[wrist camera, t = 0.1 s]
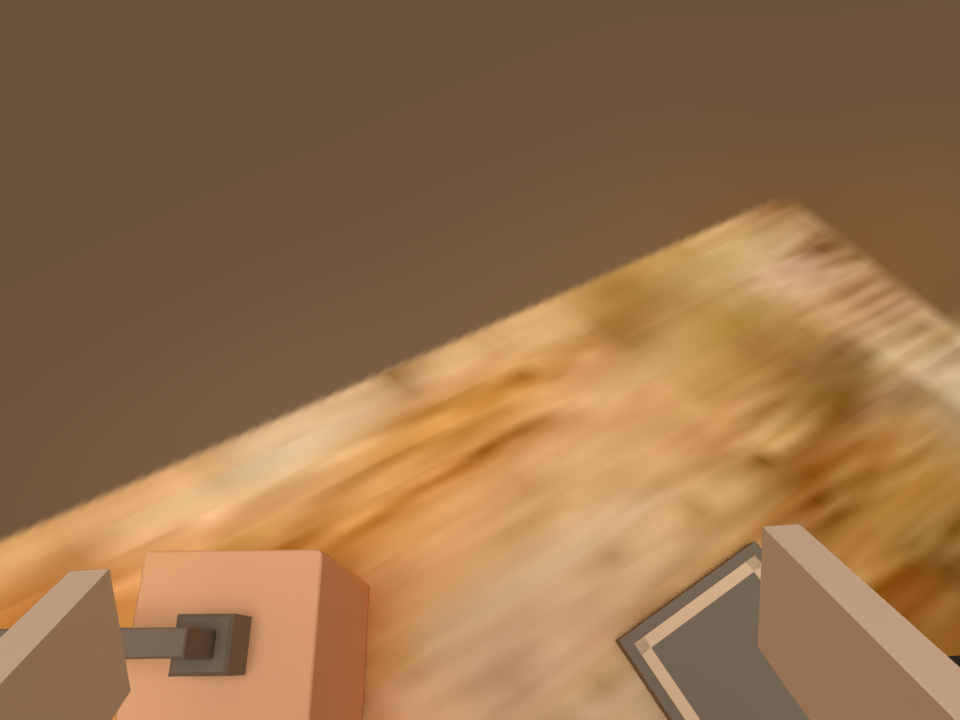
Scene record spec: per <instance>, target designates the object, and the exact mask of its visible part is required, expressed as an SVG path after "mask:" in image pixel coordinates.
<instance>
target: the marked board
mask: <svg viewBox="0 0 960 720" xmlns="http://www.w3.org/2000/svg"><path fill="white" fill-rule="evenodd" d="M761 556H762V549H761V548H760V547H759V545H758V544H757V543H756V541H755V542H752V543H750V544H748V545H747V546H745V547H744V548H743V549H741V550H740V551H739V552H737V553H736V554H734V555H733V556H732V557H730V558H729V559H728V560H726V561H725V562H723V563H722V564H721V565H719V566H718V567H717V568H715V569H714V570H712V571H711V572H710V573H708V574H707V575H706V576H704V577H703V578H701V579H700V580H699V581H697V582H696V583H694V584H693V585H692V586H690V587H689V588H688V589H686V590H685V591H683V592H682V593H681V594H679V595H678V596H677V597H675V598H674V599H672V600H671V601H670V602H668V603H667V604H666V605H664V606H663V607H661V608H660V609H659V610H657V611H656V612H655V613H653V614H652V615H650V616H649V617H648V618H646V619H645V620H643V621H642V622H641V623H639V624H638V625H637V626H635V627H634V628H632V629H631V630H630V631H628V632H627V633H626V634H624V635H623V636H621V637H620V638H619V639H617V640H616V642H617V643H618V645H619V646H620V648H621V649H622V651H623V652H624V654H625V656H626V657H627V659H628V660H629V662H630V663H631V665H632V666H633V668H634V669H635V671H636V672H637V674H638V675H639V677H640V678H641V680H642V681H643V683H644V684H645V686H646V687H647V689H648V690H649V692H650V693H651V695H652V696H653V698H654V699H655V701H656V702H657V704H658V705H659V707H660V708H661V710H662V711H663V713H664V714H665V716H666V717H667V719H668V720H809V719H808V717H807V716H806V714H805V713H804V712H803V710H802V709H801V707H800V706H799V705H798V703H797V702H796V700H795V699H794V697H793V696H792V695H791V693H790V692H789V690H788V689H787V688H786V686H785V685H784V683H783V682H782V681H781V679H780V678H779V676H778V675H777V674H776V672H775V671H774V669H773V668H772V666H771V665H770V664H769V662H768V661H767V659H766V658H765V657H764V655H763V654H762V652H761V651H760V650H759V648H758V624H759V602H760V579H761Z"/></svg>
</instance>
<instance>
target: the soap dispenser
mask: <svg viewBox="0 0 960 720" xmlns="http://www.w3.org/2000/svg"><path fill="white" fill-rule="evenodd" d="M368 599H369V586H368V585H367V584H366V583H365V582H364V581H362V580H361V579H359V578H358V577H357V576H355V575H354V574H352V573H351V572H350V571H348V570H347V569H345V568H344V567H343V566H341V565H340V564H338V563H337V562H336V561H334V560H333V559H331V558H330V557H329V556H327V555H326V554H324V553H323V552H322V551H320V550H213V551H149V552H148V553H146V555H145V560H144V565H143V571H142V577H141V582H140V588H139V593H138V599H137V604H136V610H135V616H134V621H133V627H132V628H120V632H121V638H122V644H123V649H124V655H125V659H127V660H126V666H127V672H128V678H129V683H130V689H131V691H130V693H129V694H128V696H127V697H126V699H125V700H124V702H123V703H122V705H121V706H120V708H119V709H118V711H117V716H116V720H361V719H362V714H363V695H364V676H365V656H366V637H367V618H368ZM8 630H9V629H0V637H1V636H3V635H4V634H5V633H6V632H7V631H8Z"/></svg>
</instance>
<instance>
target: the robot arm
mask: <svg viewBox="0 0 960 720" xmlns="http://www.w3.org/2000/svg"><path fill="white" fill-rule="evenodd" d="M758 648H759V650H760V651H761V652H762V654H763V655H764V657H765V658H766V659H767V661H768V662H769V664H770V665H771V666H772V668H773V669H774V671H775V672H776V674H777V675H778V676H779V678H780V679H781V681H782V682H783V683H784V685H785V686H786V688H787V689H788V690H789V692H790V693H791V695H792V696H793V697H794V699H795V700H796V702H797V703H798V705H799V706H800V707H801V709H802V710H803V712H804V713H805V714H806V716H807V717H808V719H809V720H960V656H946V655H945V654H944V653H943V652H942V651H941V650H940V649H939V648H937V647H936V646H935V645H934V644H933V643H932V642H931V641H930V640H929V639H927V638H926V637H925V636H924V635H923V634H922V633H921V632H920V631H918V630H917V629H916V628H915V627H914V626H913V625H912V624H911V623H909V622H908V621H907V620H906V619H905V618H904V617H903V616H902V615H901V614H899V613H898V612H897V611H896V610H895V609H894V608H893V607H892V606H890V605H889V604H888V603H887V602H886V601H885V600H884V599H883V598H881V597H880V596H879V595H878V594H877V593H876V592H875V591H874V590H873V589H871V588H870V587H869V586H868V585H867V584H866V583H865V582H864V581H862V580H861V579H860V578H859V577H858V576H857V575H856V574H855V573H853V572H852V571H851V570H850V569H849V568H848V567H847V566H846V565H844V564H843V563H842V562H841V561H840V560H839V559H838V558H837V557H836V556H834V555H833V554H832V553H831V552H830V551H829V550H828V549H827V548H825V547H824V546H823V545H822V544H821V543H820V542H819V541H818V540H816V539H815V538H814V537H813V536H812V535H811V534H810V533H809V532H808V531H806V530H805V529H804V528H803V527H802V526H801V525H800V524H799V525H784V526H768V527H763V533H762V556H761V579H760V602H759V624H758ZM130 691H131V689H130V683H129V678H128V672H127V666H126V661H125V655H124V649H123V644H122V638H121V632H120V627H119V621H118V615H117V610H116V604H115V599H114V593H113V587H112V582H111V576H110V570H109V569H101V570H85V571H70V572H69V573H68V574H67V575H66V576H65V577H64V578H62V579H61V580H60V581H59V582H58V583H57V584H56V585H55V586H54V587H53V588H52V589H51V590H50V591H49V592H48V593H47V594H46V595H45V596H44V597H42V598H41V599H40V600H39V601H38V602H37V603H36V604H35V605H34V606H33V607H32V608H31V609H30V610H29V611H28V612H27V613H26V614H25V615H24V616H23V617H21V618H20V619H19V620H18V621H17V622H16V623H15V624H14V625H13V626H12V627H11V628H10V629H9V630H8V631H7V632H6V633H5V634H4V635H3V636H1V637H0V720H112V719H113V717H114V716H115V714H116V713H117V711H118V709H119V708H120V706H121V705H122V703H123V702H124V700H125V699H126V697H127V696H128V694H129V693H130Z"/></svg>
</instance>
